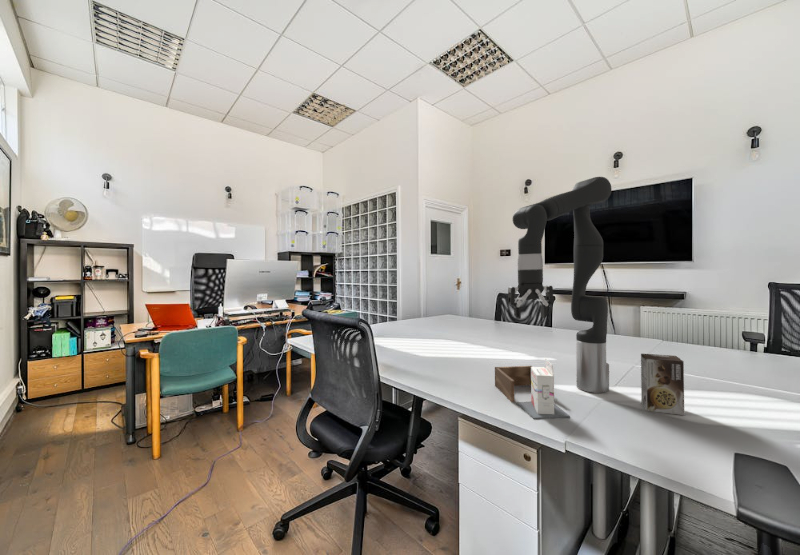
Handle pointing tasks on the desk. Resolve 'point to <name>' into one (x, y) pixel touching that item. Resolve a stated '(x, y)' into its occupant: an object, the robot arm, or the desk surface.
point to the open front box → (512, 379)
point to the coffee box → (662, 383)
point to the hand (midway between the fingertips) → (530, 318)
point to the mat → (533, 413)
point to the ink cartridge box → (543, 388)
